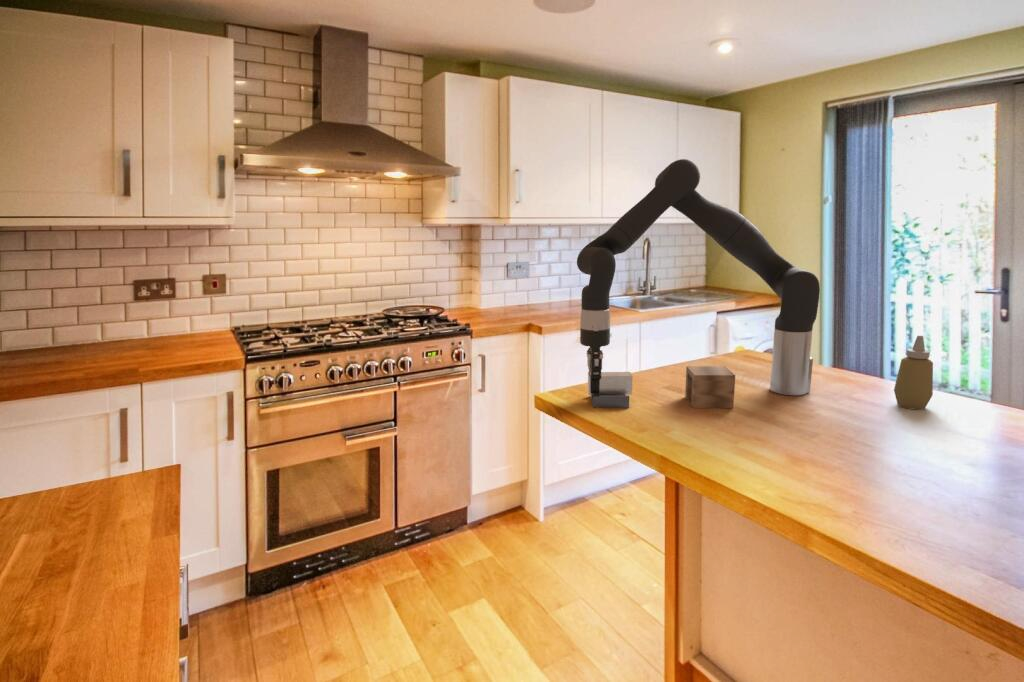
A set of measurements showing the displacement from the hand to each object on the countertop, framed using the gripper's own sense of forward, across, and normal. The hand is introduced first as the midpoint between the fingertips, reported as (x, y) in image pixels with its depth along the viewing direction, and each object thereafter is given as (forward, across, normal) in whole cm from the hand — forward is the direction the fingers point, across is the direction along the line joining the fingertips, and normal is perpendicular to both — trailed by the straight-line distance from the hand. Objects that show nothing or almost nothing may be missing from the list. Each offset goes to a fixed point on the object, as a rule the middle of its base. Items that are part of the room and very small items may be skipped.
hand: (594, 390), depth 159 cm
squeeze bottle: (+4, +2, +79) cm, 79 cm away
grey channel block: (+3, 0, +4) cm, 5 cm away
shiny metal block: (+1, 0, +4) cm, 4 cm away
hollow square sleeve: (+3, 0, +29) cm, 30 cm away
